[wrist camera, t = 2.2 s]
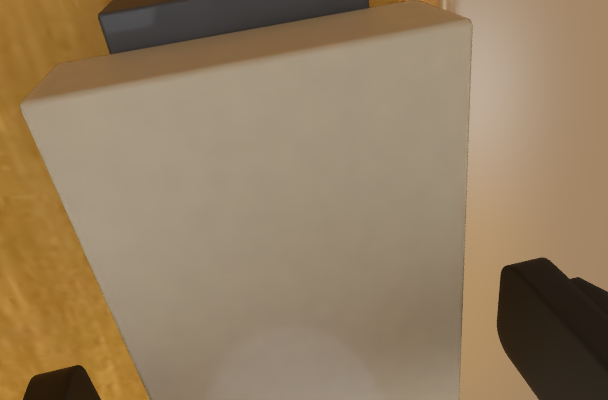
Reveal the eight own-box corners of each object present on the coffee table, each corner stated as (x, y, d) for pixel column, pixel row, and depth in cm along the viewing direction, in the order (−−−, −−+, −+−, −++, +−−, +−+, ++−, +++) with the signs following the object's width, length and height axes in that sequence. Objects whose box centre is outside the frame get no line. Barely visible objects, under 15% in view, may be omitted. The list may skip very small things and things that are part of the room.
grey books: (139, -29, 14) (92, 14, 8) (295, -55, 14) (370, -33, 8) (231, 302, 20) (246, 474, 14) (338, 278, 20) (399, 434, 14)
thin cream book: (54, 63, 8) (14, 103, 6) (419, -3, 8) (476, 17, 7) (213, 469, 13) (215, 549, 12) (425, 414, 14) (457, 483, 12)
